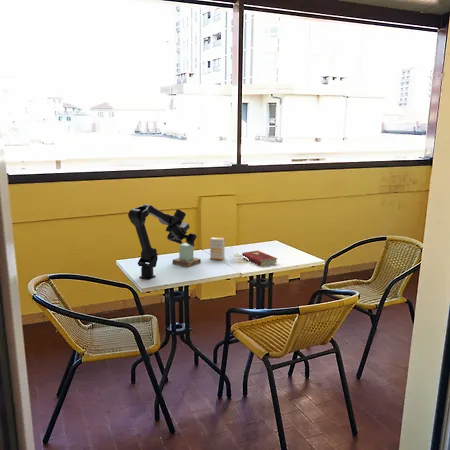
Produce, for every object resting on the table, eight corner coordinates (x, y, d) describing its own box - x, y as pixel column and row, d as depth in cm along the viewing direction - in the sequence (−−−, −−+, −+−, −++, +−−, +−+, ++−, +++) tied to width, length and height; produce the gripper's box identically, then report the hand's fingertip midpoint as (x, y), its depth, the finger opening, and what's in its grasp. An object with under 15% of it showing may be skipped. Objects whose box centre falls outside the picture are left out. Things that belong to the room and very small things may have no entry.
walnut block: (188, 268, 268) (188, 263, 268) (172, 264, 275) (172, 259, 274) (200, 263, 278) (200, 258, 277) (185, 260, 284) (185, 255, 284)
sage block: (187, 260, 272) (187, 246, 270) (179, 259, 275) (179, 244, 273) (193, 258, 277) (193, 244, 275) (185, 257, 280) (185, 242, 278)
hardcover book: (260, 267, 271) (260, 260, 270) (242, 258, 289) (242, 252, 288) (277, 264, 277) (277, 257, 276) (257, 256, 294) (258, 250, 294)
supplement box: (224, 258, 288) (224, 237, 285) (222, 260, 283) (222, 239, 281) (212, 257, 290) (212, 236, 287) (209, 259, 285) (209, 238, 283)
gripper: (194, 220, 262) (206, 235, 274) (169, 217, 273) (181, 231, 284) (186, 236, 258) (198, 251, 269) (161, 232, 268) (173, 246, 279)
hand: (187, 244), depth 275 cm, fingers open, 9 cm apart
